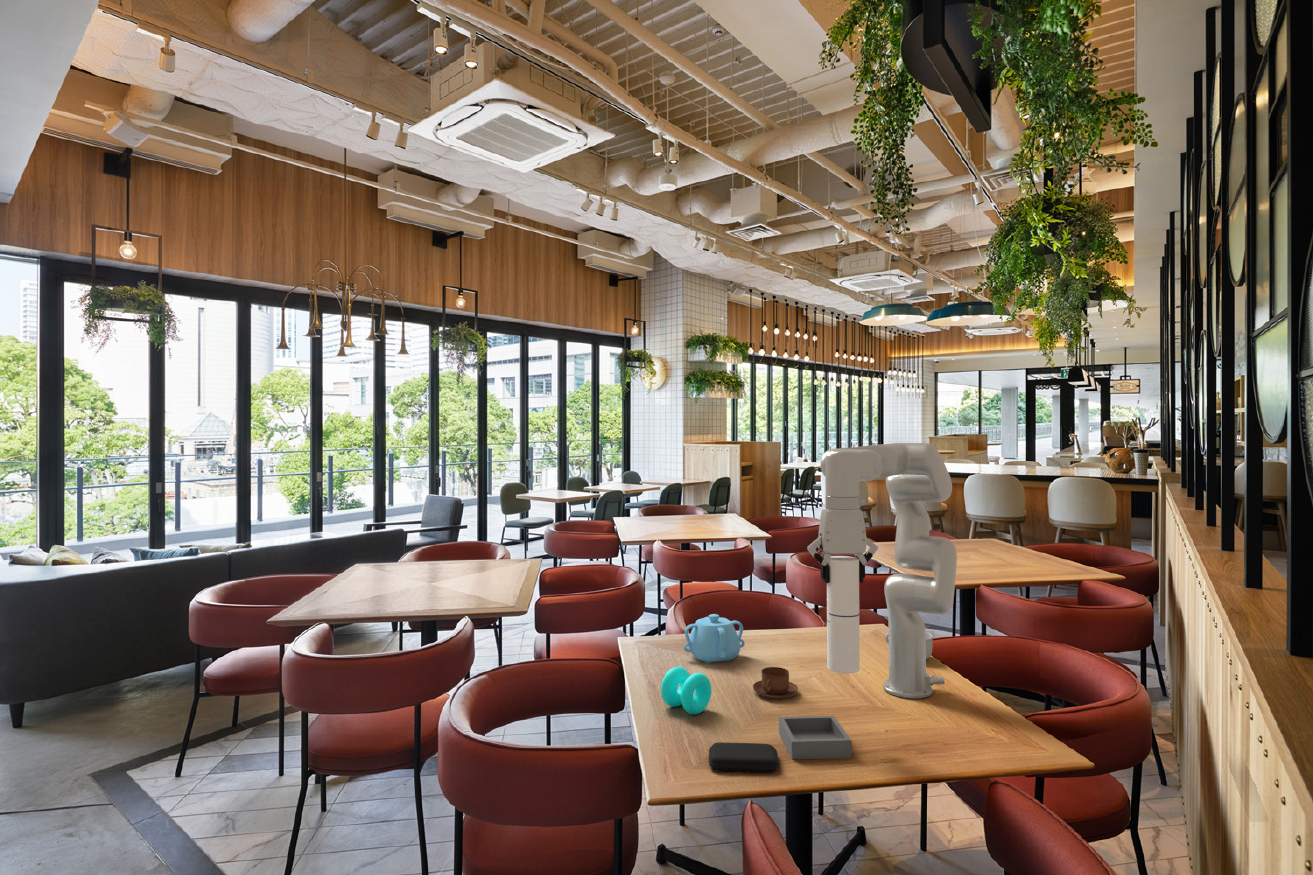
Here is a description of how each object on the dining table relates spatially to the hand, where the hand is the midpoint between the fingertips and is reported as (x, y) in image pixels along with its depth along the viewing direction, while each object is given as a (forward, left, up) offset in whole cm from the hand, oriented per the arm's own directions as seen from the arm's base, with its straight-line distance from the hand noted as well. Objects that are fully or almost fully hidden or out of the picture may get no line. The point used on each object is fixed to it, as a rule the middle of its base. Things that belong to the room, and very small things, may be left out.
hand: (842, 581), depth 157 cm
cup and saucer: (+10, -29, -37) cm, 48 cm away
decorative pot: (+23, -60, -36) cm, 74 cm away
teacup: (-38, -56, -36) cm, 77 cm away
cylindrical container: (0, 0, -20) cm, 20 cm away
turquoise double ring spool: (+35, -20, -36) cm, 54 cm away
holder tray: (+8, +2, -36) cm, 37 cm away
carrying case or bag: (+25, +9, -37) cm, 45 cm away
